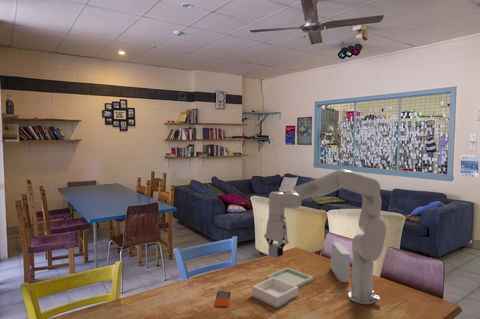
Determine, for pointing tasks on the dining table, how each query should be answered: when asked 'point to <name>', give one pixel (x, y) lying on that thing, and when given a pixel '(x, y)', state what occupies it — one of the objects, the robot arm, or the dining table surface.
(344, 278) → the skincare box
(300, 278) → the green tray
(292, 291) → the white bin
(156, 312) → the dining table surface
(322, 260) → the dining table surface
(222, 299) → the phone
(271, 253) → the slate stone block
